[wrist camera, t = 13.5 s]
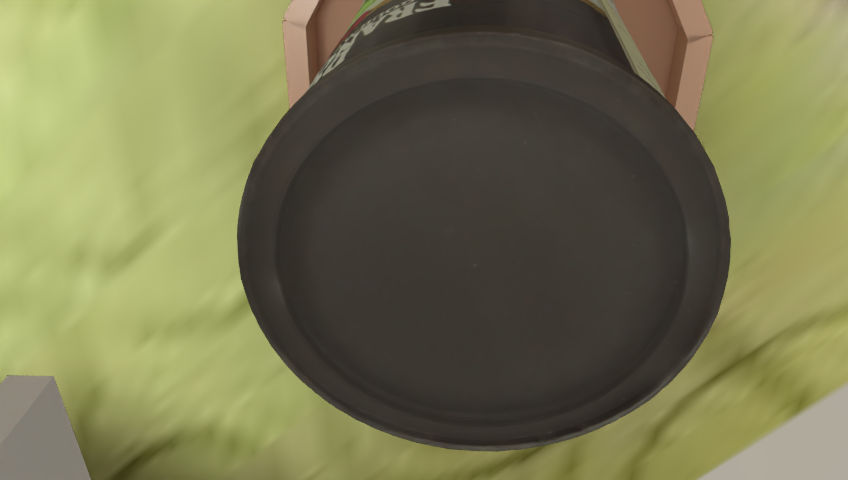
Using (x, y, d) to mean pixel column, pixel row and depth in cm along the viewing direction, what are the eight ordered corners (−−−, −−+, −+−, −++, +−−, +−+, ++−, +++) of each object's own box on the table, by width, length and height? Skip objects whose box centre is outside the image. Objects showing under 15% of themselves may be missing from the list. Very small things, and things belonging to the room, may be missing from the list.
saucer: (418, 280, 34) (413, 309, 32) (224, -18, 28) (203, -4, 26) (745, 141, 29) (762, 165, 27) (596, -251, 23) (605, -255, 21)
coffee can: (294, 82, 29) (146, 286, 17) (476, -147, 24) (457, -99, 12) (491, 242, 32) (489, 516, 19) (687, 62, 27) (842, 271, 15)
